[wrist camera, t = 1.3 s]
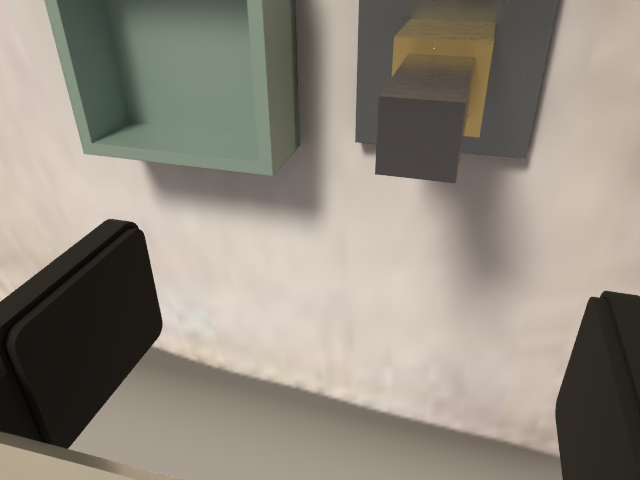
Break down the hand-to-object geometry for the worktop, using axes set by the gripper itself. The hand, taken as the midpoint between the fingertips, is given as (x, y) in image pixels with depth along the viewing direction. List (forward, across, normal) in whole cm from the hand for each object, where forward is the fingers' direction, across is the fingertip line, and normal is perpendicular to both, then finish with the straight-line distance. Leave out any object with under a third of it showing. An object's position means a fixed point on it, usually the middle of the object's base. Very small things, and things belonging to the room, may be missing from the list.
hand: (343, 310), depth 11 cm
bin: (+23, +15, -1) cm, 28 cm away
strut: (+22, 0, 0) cm, 22 cm away
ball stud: (+23, 0, 0) cm, 23 cm away
